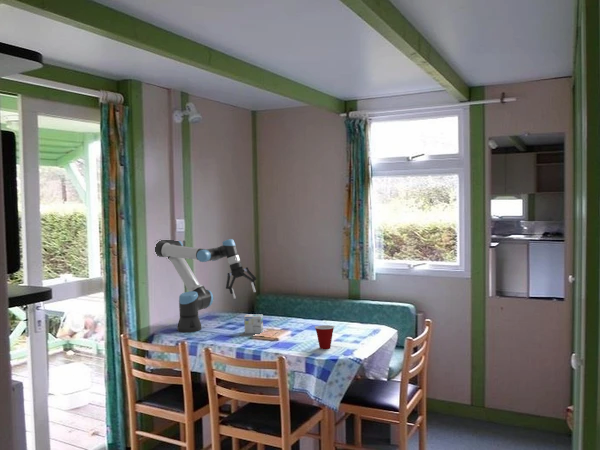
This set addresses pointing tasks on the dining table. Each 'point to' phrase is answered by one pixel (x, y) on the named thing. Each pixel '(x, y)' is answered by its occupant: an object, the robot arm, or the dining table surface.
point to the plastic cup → (324, 336)
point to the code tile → (246, 334)
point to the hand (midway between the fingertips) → (245, 295)
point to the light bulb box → (253, 323)
